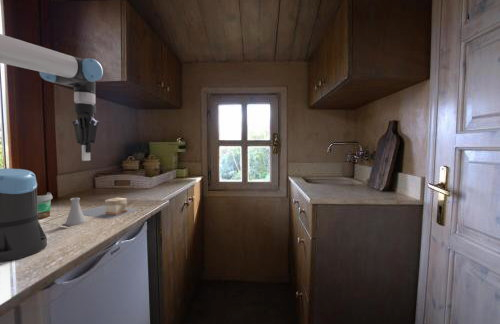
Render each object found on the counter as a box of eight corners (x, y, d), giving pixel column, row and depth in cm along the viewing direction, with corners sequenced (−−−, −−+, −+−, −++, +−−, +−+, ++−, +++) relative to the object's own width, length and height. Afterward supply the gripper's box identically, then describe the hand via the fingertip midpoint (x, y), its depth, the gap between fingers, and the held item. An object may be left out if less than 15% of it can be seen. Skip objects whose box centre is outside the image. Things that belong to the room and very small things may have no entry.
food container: (31, 224, 97) (29, 198, 96) (18, 223, 98) (16, 198, 98) (61, 215, 109) (60, 192, 108) (49, 214, 110) (48, 192, 110)
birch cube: (105, 200, 110) (105, 213, 110) (115, 201, 108) (116, 215, 108) (116, 197, 116) (117, 210, 116) (126, 198, 113) (127, 211, 114)
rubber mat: (109, 220, 103) (109, 218, 103) (71, 214, 110) (71, 213, 110) (139, 210, 118) (139, 209, 118) (104, 206, 125) (104, 205, 125)
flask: (68, 228, 93) (67, 201, 92) (61, 224, 98) (60, 198, 97) (90, 223, 99) (89, 198, 98) (83, 220, 103) (82, 195, 103)
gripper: (104, 104, 107) (105, 160, 109) (83, 106, 112) (84, 159, 113) (87, 101, 100) (88, 161, 102) (65, 103, 105) (66, 160, 106)
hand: (86, 160), depth 107 cm, fingers closed
